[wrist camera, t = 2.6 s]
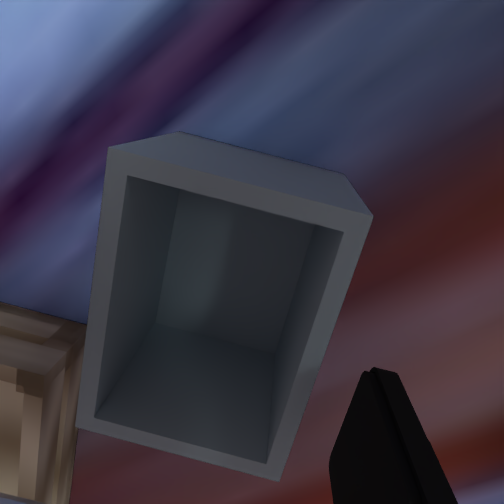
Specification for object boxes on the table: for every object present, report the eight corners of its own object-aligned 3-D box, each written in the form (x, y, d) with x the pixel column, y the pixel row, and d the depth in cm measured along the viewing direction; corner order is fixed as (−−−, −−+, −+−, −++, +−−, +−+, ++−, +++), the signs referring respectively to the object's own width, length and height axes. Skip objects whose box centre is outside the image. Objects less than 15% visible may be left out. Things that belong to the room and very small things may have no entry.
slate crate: (179, 131, 15) (108, 147, 9) (343, 174, 15) (373, 216, 9) (145, 323, 18) (75, 427, 12) (284, 360, 17) (278, 481, 12)
